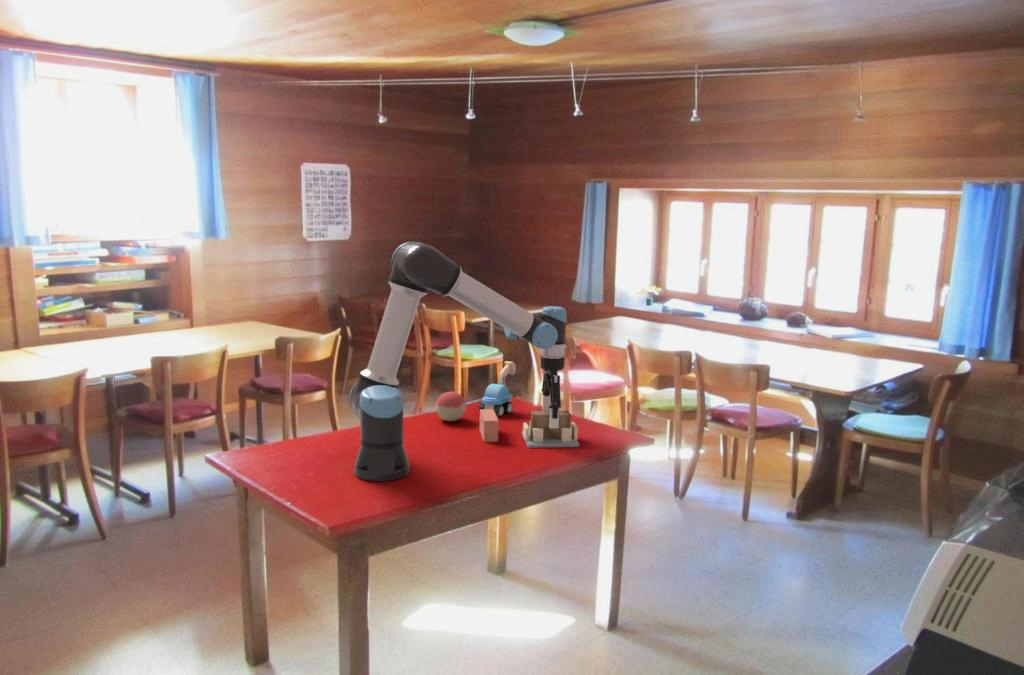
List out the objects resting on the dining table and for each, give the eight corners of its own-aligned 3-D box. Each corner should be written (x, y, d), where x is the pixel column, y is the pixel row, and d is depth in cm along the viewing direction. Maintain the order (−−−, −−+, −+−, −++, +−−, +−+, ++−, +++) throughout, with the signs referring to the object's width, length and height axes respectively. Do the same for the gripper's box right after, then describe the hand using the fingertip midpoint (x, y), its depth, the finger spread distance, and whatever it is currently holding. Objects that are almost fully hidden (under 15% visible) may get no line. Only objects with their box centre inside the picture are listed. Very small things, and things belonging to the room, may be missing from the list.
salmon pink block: (483, 442, 251) (484, 420, 250) (479, 429, 264) (479, 409, 263) (498, 442, 252) (498, 420, 251) (493, 429, 265) (493, 409, 263)
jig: (527, 447, 247) (527, 432, 246) (521, 433, 260) (521, 419, 260) (579, 446, 249) (580, 431, 248) (570, 433, 263) (571, 418, 262)
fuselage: (532, 439, 252) (533, 415, 250) (530, 435, 256) (530, 411, 254) (569, 439, 253) (570, 414, 252) (567, 434, 257) (567, 410, 256)
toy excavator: (522, 408, 291) (523, 362, 288) (497, 418, 277) (498, 370, 274) (502, 404, 295) (504, 359, 292) (477, 414, 282) (477, 367, 278)
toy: (469, 416, 279) (470, 388, 277) (461, 425, 267) (461, 397, 266) (442, 414, 281) (442, 386, 279) (432, 423, 269) (432, 394, 267)
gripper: (572, 364, 238) (569, 433, 242) (557, 348, 262) (554, 410, 266) (547, 364, 237) (544, 433, 241) (534, 348, 261) (532, 410, 265)
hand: (549, 421), depth 253 cm, fingers open, 13 cm apart
